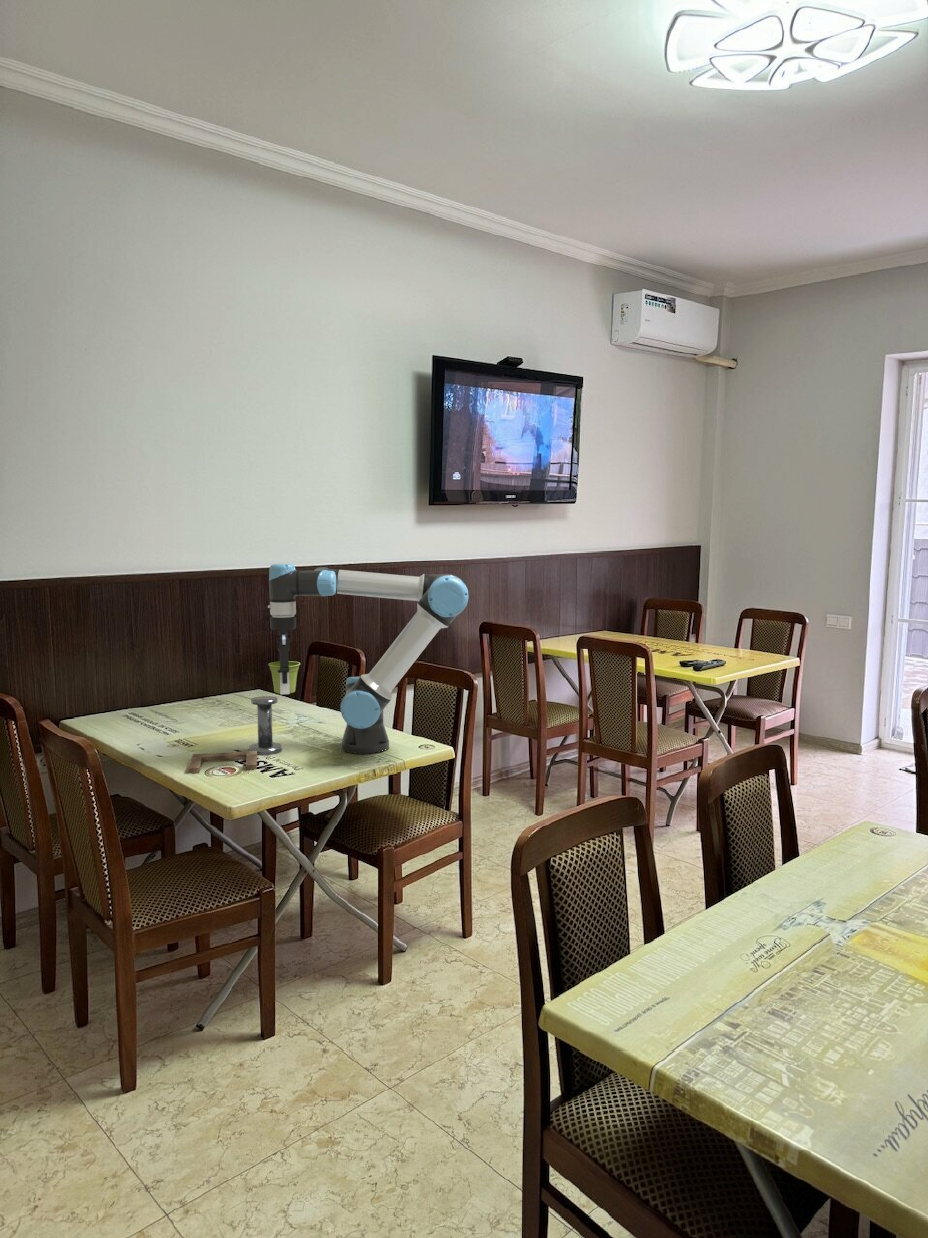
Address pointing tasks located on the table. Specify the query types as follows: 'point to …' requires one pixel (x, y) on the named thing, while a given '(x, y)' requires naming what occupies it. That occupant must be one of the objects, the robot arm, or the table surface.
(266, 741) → the spool
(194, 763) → the notched board
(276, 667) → the plant pot
